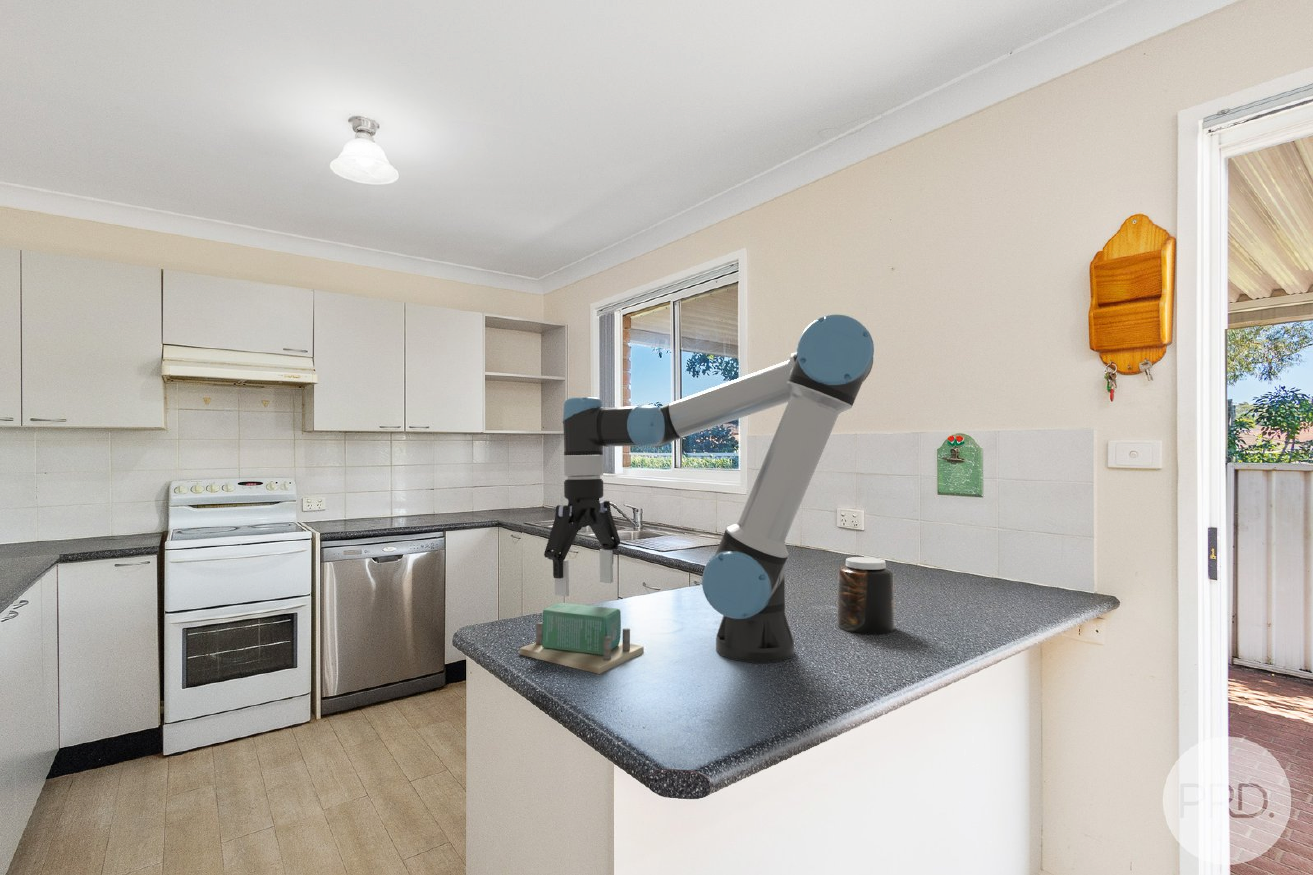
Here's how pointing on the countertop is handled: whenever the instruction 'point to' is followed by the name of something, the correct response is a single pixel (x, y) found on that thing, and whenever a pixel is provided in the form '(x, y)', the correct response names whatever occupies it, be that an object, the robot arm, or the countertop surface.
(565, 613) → the box
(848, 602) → the jar
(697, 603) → the countertop surface
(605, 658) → the tray
